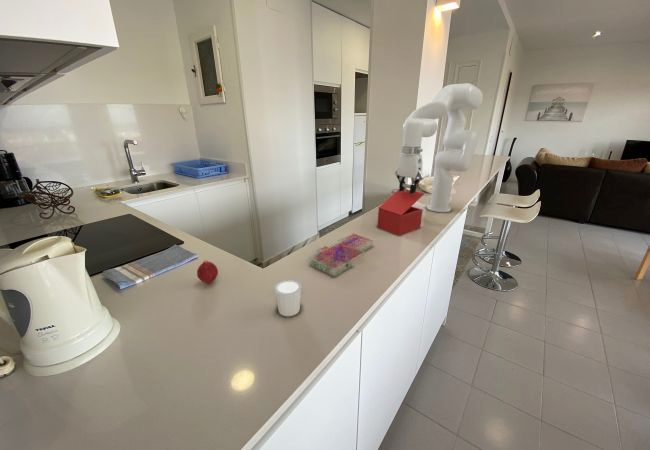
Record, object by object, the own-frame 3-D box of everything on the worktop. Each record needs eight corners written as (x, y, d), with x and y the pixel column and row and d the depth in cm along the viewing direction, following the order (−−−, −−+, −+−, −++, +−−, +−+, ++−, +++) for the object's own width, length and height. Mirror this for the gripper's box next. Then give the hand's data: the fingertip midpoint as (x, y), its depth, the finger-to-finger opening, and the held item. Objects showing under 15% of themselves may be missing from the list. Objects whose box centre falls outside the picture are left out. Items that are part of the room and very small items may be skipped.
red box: (398, 220, 138) (400, 203, 135) (420, 227, 129) (422, 209, 125) (377, 227, 129) (378, 209, 126) (398, 235, 120) (401, 216, 117)
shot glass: (291, 321, 69) (290, 298, 67) (270, 311, 73) (268, 289, 70) (307, 306, 75) (306, 284, 72) (287, 298, 78) (286, 276, 75)
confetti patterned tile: (352, 237, 118) (352, 226, 116) (382, 248, 108) (383, 236, 106) (299, 262, 97) (299, 249, 95) (331, 278, 88) (331, 264, 86)
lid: (400, 189, 132) (398, 179, 129) (424, 194, 123) (422, 184, 120) (378, 208, 126) (376, 199, 123) (401, 216, 117) (399, 206, 114)
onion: (223, 279, 87) (219, 257, 84) (210, 289, 82) (206, 265, 79) (208, 276, 89) (204, 254, 86) (194, 285, 84) (190, 262, 81)
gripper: (434, 151, 114) (428, 194, 121) (400, 148, 126) (397, 186, 133) (423, 153, 110) (418, 197, 117) (389, 149, 122) (386, 189, 129)
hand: (407, 191), depth 125 cm, fingers closed on lid, 5 cm apart
